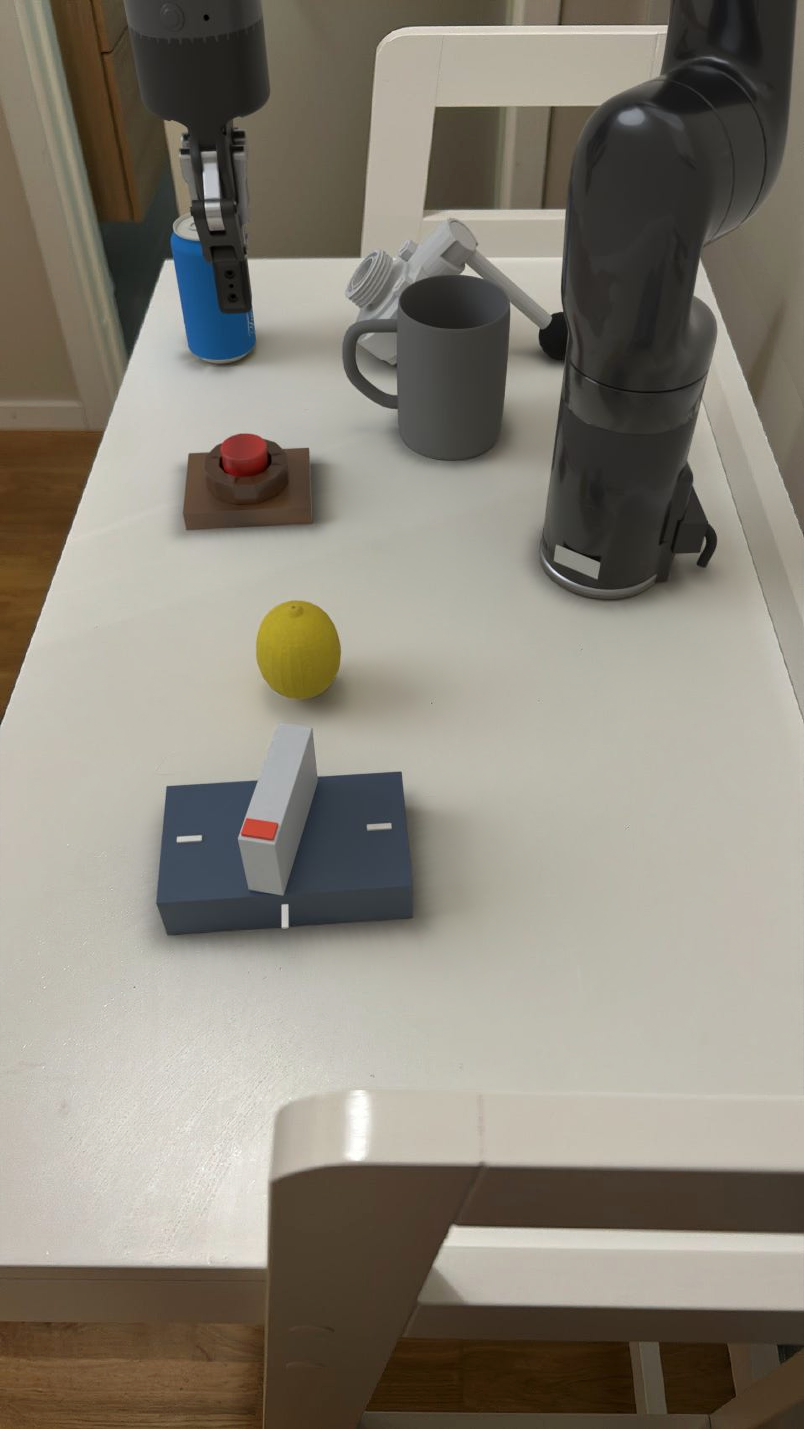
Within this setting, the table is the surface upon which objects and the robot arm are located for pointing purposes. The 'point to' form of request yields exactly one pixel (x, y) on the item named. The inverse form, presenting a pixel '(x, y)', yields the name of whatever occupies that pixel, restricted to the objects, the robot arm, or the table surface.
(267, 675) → the lemon
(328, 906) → the blue dial base
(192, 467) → the button block
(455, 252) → the valve
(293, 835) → the white slab
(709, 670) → the table surface
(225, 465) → the button
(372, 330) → the mug
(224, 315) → the beverage can
